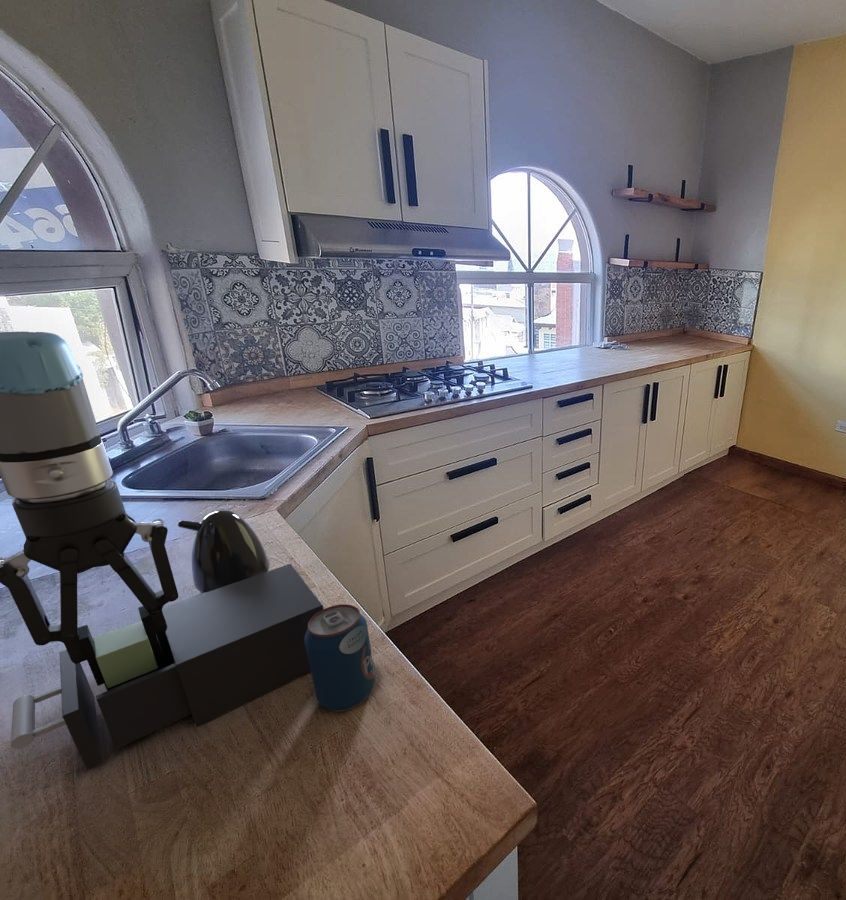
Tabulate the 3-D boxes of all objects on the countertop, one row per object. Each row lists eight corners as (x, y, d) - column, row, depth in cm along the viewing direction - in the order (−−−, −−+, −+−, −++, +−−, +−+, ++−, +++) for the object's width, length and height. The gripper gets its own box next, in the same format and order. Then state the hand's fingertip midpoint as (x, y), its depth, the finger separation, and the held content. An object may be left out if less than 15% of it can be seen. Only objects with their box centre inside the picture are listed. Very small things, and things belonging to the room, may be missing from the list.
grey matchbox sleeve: (196, 728, 60) (175, 665, 57) (176, 666, 69) (157, 608, 65) (333, 660, 71) (323, 604, 67) (301, 614, 79) (290, 563, 76)
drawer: (27, 798, 51) (-2, 742, 48) (29, 723, 59) (4, 671, 56) (245, 694, 64) (232, 645, 61) (222, 644, 72) (210, 599, 69)
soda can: (385, 695, 65) (373, 620, 61) (327, 726, 61) (311, 647, 57) (365, 665, 70) (353, 594, 66) (311, 691, 65) (294, 617, 61)
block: (104, 667, 59) (92, 637, 58) (153, 649, 62) (143, 620, 61) (107, 688, 56) (95, 658, 55) (158, 668, 59) (148, 638, 58)
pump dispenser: (210, 581, 86) (188, 502, 81) (279, 570, 90) (262, 494, 85) (188, 618, 78) (162, 532, 72) (266, 605, 81) (246, 522, 76)
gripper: (-80, 529, 43) (20, 730, 51) (179, 476, 55) (226, 646, 63) (-67, 500, 48) (22, 688, 56) (168, 457, 59) (213, 617, 68)
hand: (130, 665), depth 59 cm, fingers closed on block, 4 cm apart
